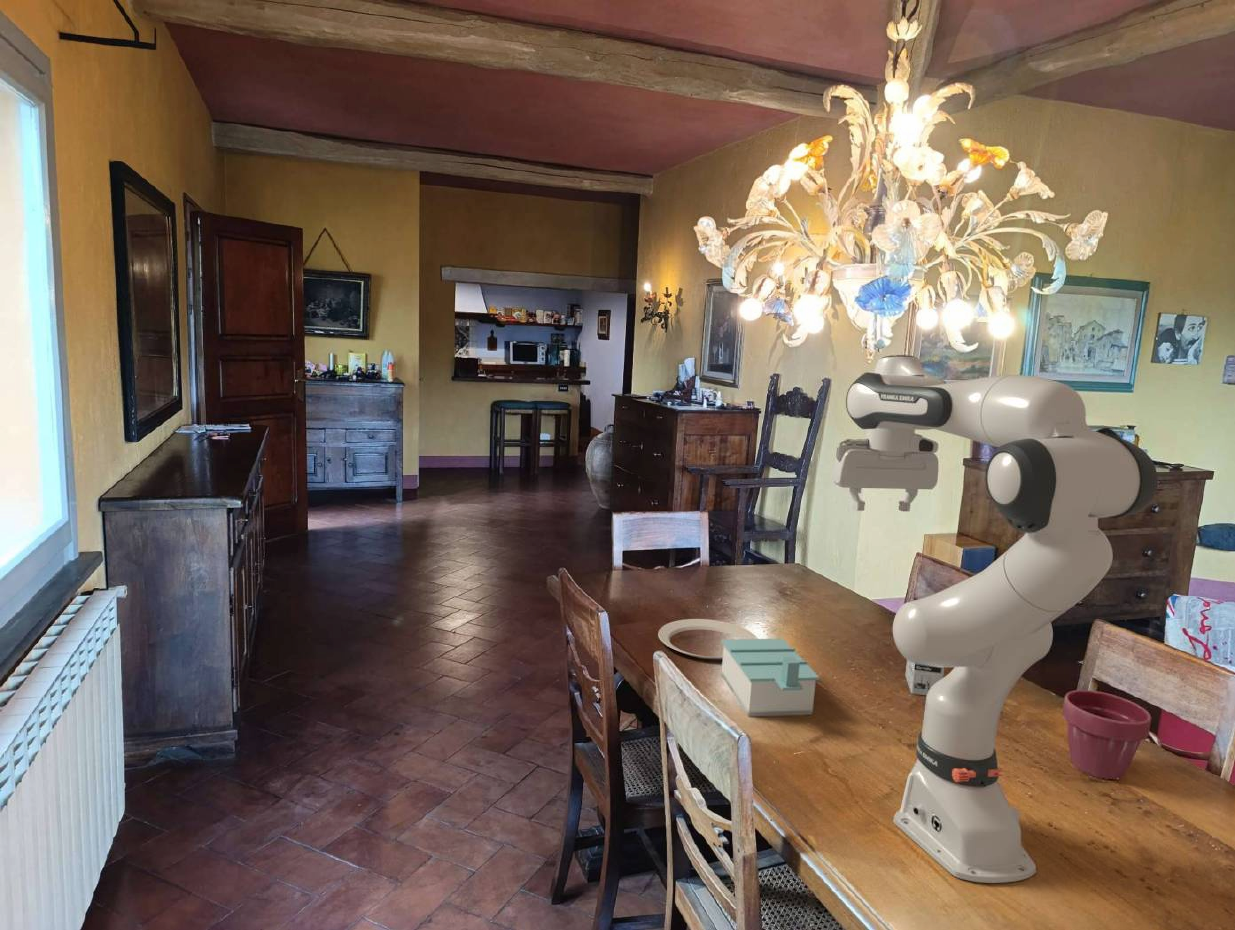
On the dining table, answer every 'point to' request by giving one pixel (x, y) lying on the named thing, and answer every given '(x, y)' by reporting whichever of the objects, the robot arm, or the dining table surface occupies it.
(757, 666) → the lid
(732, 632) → the beige flat ring
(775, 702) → the tub
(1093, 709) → the plant pot
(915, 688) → the light bulb box
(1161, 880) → the dining table surface
